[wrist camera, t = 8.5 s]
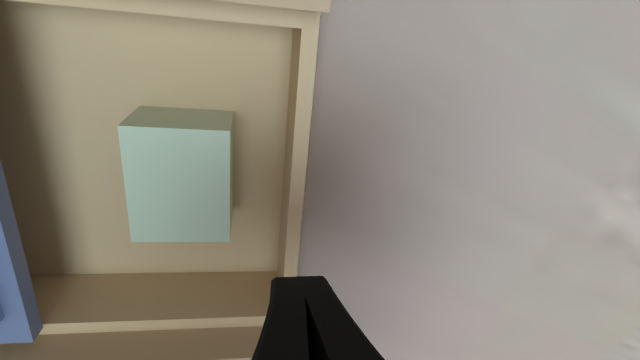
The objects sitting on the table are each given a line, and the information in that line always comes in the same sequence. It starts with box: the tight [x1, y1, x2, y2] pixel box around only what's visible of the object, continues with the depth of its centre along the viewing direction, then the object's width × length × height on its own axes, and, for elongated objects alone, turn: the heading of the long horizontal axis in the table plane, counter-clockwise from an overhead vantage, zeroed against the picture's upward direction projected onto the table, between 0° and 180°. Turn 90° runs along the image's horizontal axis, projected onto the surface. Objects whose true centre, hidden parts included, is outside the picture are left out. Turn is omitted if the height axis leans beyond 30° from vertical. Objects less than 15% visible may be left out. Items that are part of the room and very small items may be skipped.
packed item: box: [117, 106, 234, 242], centre depth 17 cm, size 5×4×3 cm
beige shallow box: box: [0, 0, 331, 360], centre depth 15 cm, size 15×20×6 cm
